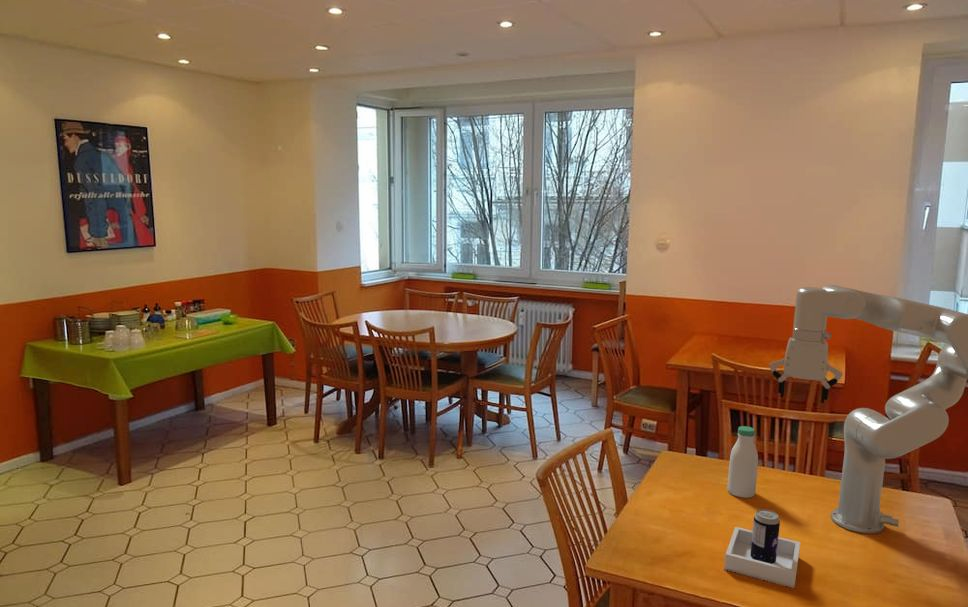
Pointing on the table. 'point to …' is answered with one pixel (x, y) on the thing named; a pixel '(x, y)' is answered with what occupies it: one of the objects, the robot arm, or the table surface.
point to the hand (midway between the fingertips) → (802, 398)
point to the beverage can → (765, 536)
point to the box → (745, 565)
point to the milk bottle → (743, 464)
